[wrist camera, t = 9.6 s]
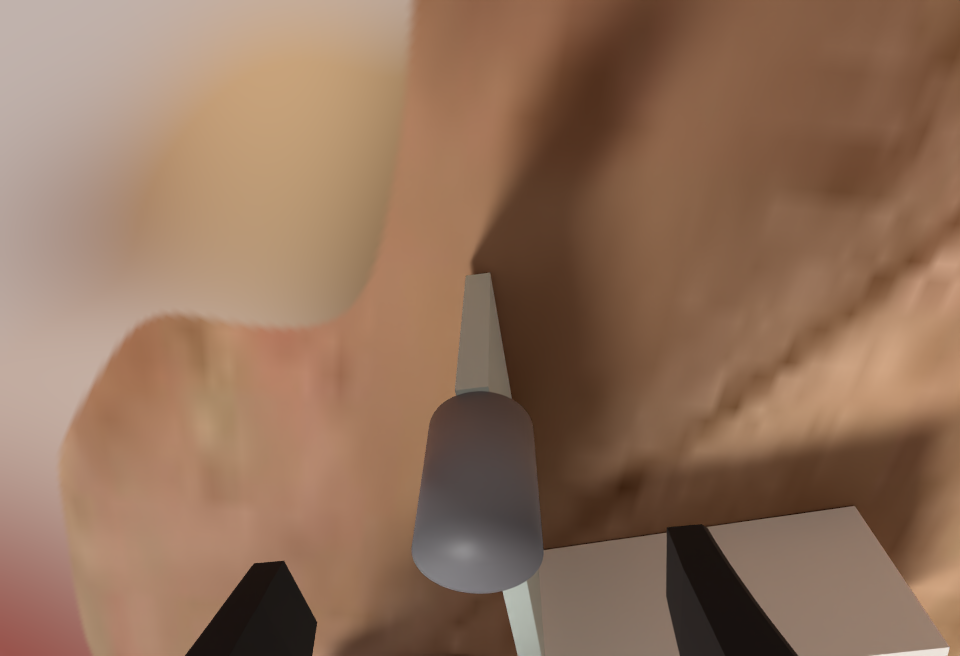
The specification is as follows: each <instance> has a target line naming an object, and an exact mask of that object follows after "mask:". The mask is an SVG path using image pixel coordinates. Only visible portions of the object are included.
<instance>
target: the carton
mask: <svg viewBox="0 0 960 656" xmlns="http://www.w3.org/2000/svg"><path fill="white" fill-rule="evenodd" d="M707 528H708V529H709V531H710V533H711V534H712V536H713V538H714V539H715V541H716V543H717V544H718V546H719V547H720V549H721V550H722V552H723V554H724V555H725V557H726V558H727V560H728V561H729V563H730V564H731V566H732V567H733V569H734V570H735V571H736V573H737V574H738V576H739V577H740V579H741V580H742V582H743V583H744V584H745V586H746V587H747V589H748V590H749V591H750V593H751V594H752V596H753V597H754V598H755V600H756V601H757V603H758V604H759V605H760V607H761V608H762V609H763V611H764V612H765V613H766V615H767V616H768V617H769V619H770V620H771V621H772V623H773V624H774V625H775V626H776V628H777V629H778V630H779V632H780V633H781V634H782V635H783V637H784V638H785V639H786V641H787V642H788V643H789V644H790V646H791V647H792V648H793V650H794V651H795V652H796V653H797V655H798V656H947V655H948V651H949V648H950V647H949V645H948V644H947V642H946V641H945V639H944V638H943V636H942V635H941V633H940V632H939V630H938V629H937V627H936V626H935V625H934V623H933V622H932V620H931V619H930V617H929V616H928V614H927V613H926V611H925V610H924V608H923V607H922V605H921V604H920V602H919V601H918V599H917V598H916V596H915V595H914V593H913V592H912V590H911V589H910V587H909V586H908V584H907V583H906V581H905V580H904V578H903V577H902V575H901V574H900V572H899V571H898V569H897V568H896V566H895V565H894V564H893V562H892V561H891V559H890V558H889V556H888V555H887V553H886V552H885V550H884V549H883V547H882V546H881V544H880V543H879V541H878V540H877V538H876V537H875V535H874V534H873V532H872V531H871V529H870V528H869V526H868V525H867V523H866V522H865V520H864V519H863V517H862V516H861V514H860V513H859V511H858V510H857V508H856V507H855V506H851V507H844V508H837V509H830V510H823V511H816V512H809V513H802V514H794V515H787V516H780V517H773V518H766V519H759V520H752V521H745V522H738V523H731V524H724V525H717V526H710V527H707ZM666 557H667V533H661V534H654V535H647V536H640V537H633V538H626V539H619V540H611V541H604V542H597V543H590V544H583V545H576V546H569V547H562V548H555V549H548V550H544V555H543V560H542V563H541V565H540V567H539V580H540V594H541V607H542V621H543V635H544V649H545V656H680V654H679V650H678V646H677V642H676V638H675V633H674V629H673V625H672V620H671V616H670V611H669V607H668V603H667V598H666Z"/></svg>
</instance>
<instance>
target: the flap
mask: <svg viewBox="0 0 960 656" xmlns="http://www.w3.org/2000/svg"><path fill="white" fill-rule="evenodd" d="M455 392H456V396H454V397H452V398H450V399H448V400H447V401H445V402H444V403H443V404H441V405H440V406H439V407H438V408H437V410H436V411H435V412H434V414H433V416H432V418H431V421H430V425H429V432H428V439H427V445H426V452H425V459H424V466H423V473H422V480H421V487H420V494H419V501H418V508H417V515H416V522H415V529H414V535H413V542H412V556H413V560H414V562H415V564H416V566H417V567H418V569H419V570H420V571H421V572H422V573H423V574H424V575H425V576H426V577H427V578H428V579H430V580H431V581H433V582H435V583H437V584H439V585H441V586H443V587H445V588H448V589H451V590H455V591H459V592H465V593H476V594H484V593H495V592H500V591H503V595H504V600H505V604H506V608H507V612H508V616H509V621H510V625H511V629H512V633H513V638H514V642H515V646H516V650H517V654H518V656H545V649H544V635H543V621H542V607H541V594H540V580H539V567H540V565H541V563H542V560H543V555H544V550H543V538H542V526H541V514H540V502H539V490H538V478H537V466H536V454H535V442H534V430H533V424H532V421H531V418H530V416H529V415H528V413H527V411H526V410H525V409H524V408H523V407H522V406H521V405H520V404H519V403H517V402H516V401H514V400H513V399H512V396H511V390H510V385H509V379H508V373H507V367H506V361H505V356H504V350H503V344H502V338H501V332H500V327H499V321H498V315H497V309H496V303H495V298H494V292H493V286H492V280H491V274H490V273H483V274H476V275H469V276H466V280H465V291H464V301H463V312H462V322H461V333H460V343H459V353H458V364H457V374H456V385H455Z"/></svg>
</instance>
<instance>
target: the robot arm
mask: <svg viewBox="0 0 960 656" xmlns="http://www.w3.org/2000/svg"><path fill="white" fill-rule="evenodd" d="M666 598H667V603H668V607H669V611H670V616H671V620H672V625H673V629H674V633H675V638H676V642H677V646H678V650H679V654H680V656H798V655H797V653H796V652H795V651H794V650H793V648H792V647H791V646H790V644H789V643H788V642H787V641H786V639H785V638H784V637H783V635H782V634H781V633H780V632H779V630H778V629H777V628H776V626H775V625H774V624H773V623H772V621H771V620H770V619H769V617H768V616H767V615H766V613H765V612H764V611H763V609H762V608H761V607H760V605H759V604H758V603H757V601H756V600H755V598H754V597H753V596H752V594H751V593H750V591H749V590H748V589H747V587H746V586H745V584H744V583H743V582H742V580H741V579H740V577H739V576H738V574H737V573H736V571H735V570H734V569H733V567H732V566H731V564H730V563H729V561H728V560H727V558H726V557H725V555H724V554H723V552H722V550H721V549H720V547H719V546H718V544H717V543H716V541H715V539H714V538H713V536H712V534H711V533H710V531H709V529H708V528H707V527H705V526H704V525H702V524H701V525H689V526H678V527H667V557H666ZM316 626H317V621H316V619H315V618H314V616H313V614H312V612H311V610H310V608H309V606H308V605H307V603H306V601H305V599H304V597H303V595H302V593H301V592H300V590H299V588H298V586H297V584H296V582H295V580H294V579H293V577H292V575H291V573H290V571H289V569H288V567H287V565H286V564H285V562H284V561H277V562H265V563H254V564H253V566H252V567H251V568H250V569H249V571H248V572H247V573H246V575H245V576H244V577H243V579H242V580H241V581H240V583H239V584H238V585H237V587H236V588H235V589H234V591H233V592H232V593H231V595H230V596H229V597H228V599H227V600H226V602H225V603H224V604H223V606H222V607H221V608H220V610H219V611H218V612H217V614H216V615H215V616H214V618H213V619H212V620H211V622H210V623H209V624H208V626H207V627H206V629H205V630H204V631H203V633H202V634H201V635H200V637H199V638H198V639H197V641H196V642H195V643H194V645H193V646H192V647H191V648H190V650H189V651H188V652H187V654H186V655H185V656H312V653H313V646H314V640H315V633H316Z"/></svg>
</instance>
